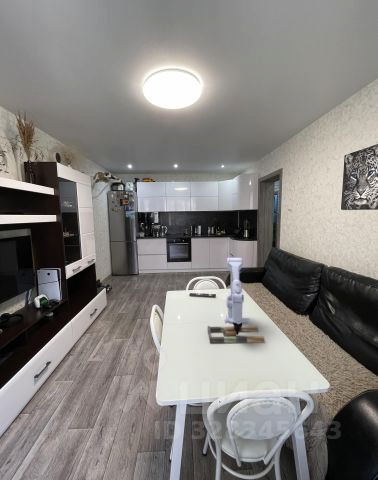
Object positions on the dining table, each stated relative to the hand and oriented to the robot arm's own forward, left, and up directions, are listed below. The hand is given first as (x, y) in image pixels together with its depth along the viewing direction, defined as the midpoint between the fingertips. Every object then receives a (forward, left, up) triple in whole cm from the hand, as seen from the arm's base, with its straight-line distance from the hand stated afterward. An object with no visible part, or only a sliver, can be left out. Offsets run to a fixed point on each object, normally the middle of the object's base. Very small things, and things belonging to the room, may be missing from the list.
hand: (236, 333), depth 128 cm
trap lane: (0, -1, -1) cm, 2 cm away
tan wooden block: (+1, -5, -1) cm, 5 cm away
